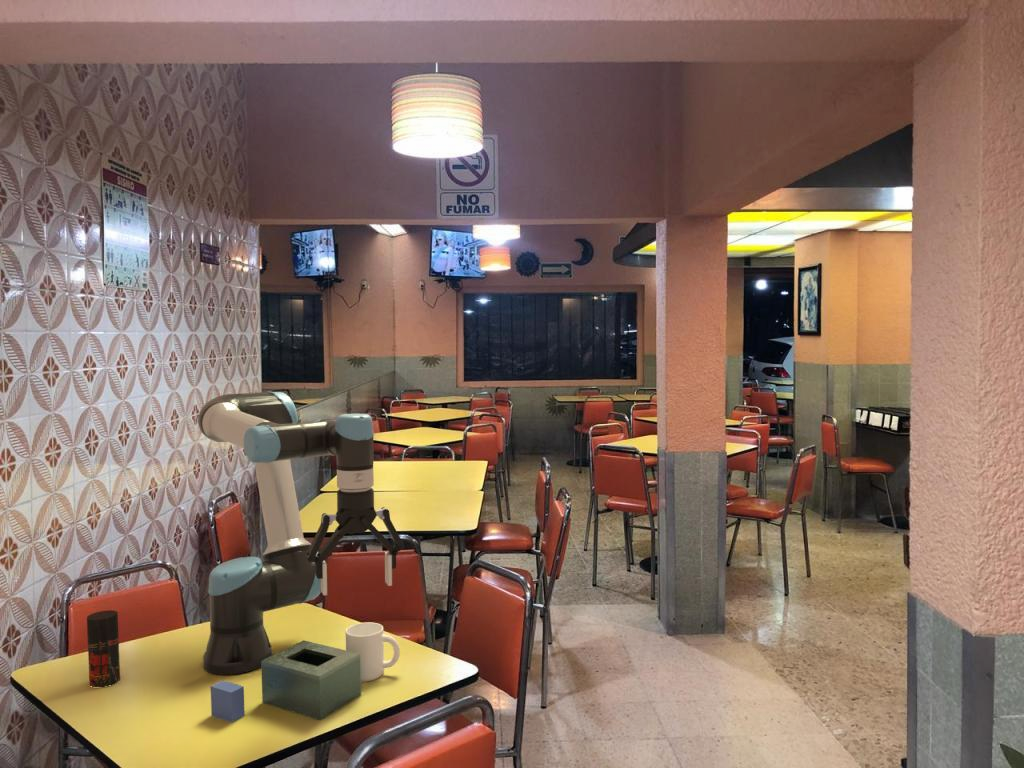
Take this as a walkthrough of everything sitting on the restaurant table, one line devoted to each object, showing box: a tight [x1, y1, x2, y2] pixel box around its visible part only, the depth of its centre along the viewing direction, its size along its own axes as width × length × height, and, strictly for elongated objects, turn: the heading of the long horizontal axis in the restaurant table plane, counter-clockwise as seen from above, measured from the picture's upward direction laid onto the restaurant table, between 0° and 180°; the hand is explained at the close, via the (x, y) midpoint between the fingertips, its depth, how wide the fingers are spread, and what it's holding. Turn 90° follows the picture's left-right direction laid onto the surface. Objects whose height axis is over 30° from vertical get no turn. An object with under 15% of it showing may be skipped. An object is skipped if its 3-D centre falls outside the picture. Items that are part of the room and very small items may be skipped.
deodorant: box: [86, 609, 121, 688], centre depth 162 cm, size 6×6×15 cm
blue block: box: [210, 679, 246, 723], centre depth 146 cm, size 6×3×6 cm, turn 61°
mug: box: [345, 621, 401, 683], centre depth 164 cm, size 12×8×10 cm
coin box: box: [260, 640, 362, 721], centre depth 153 cm, size 16×12×9 cm
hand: (356, 588), depth 154 cm, fingers open, 13 cm apart
